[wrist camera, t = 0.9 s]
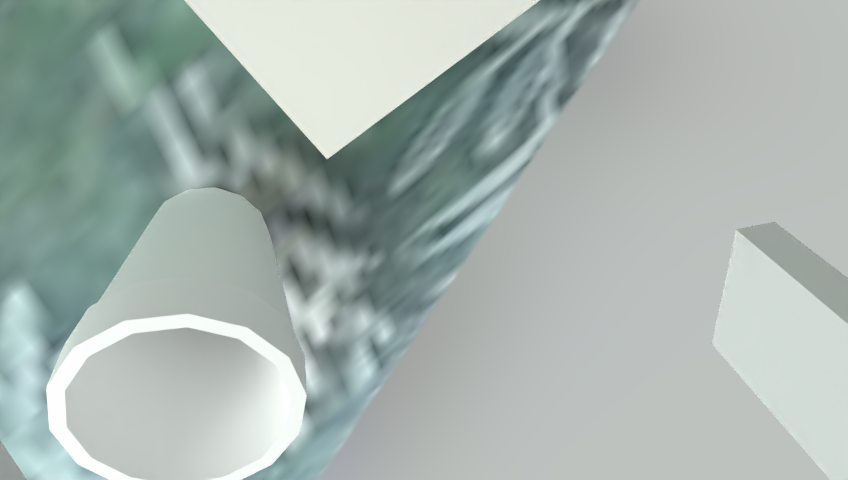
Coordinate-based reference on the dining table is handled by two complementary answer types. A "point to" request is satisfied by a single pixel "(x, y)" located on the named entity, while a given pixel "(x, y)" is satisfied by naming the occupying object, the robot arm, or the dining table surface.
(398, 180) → the dining table surface
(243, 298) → the foam cup
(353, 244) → the dining table surface
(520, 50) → the dining table surface
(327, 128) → the box
